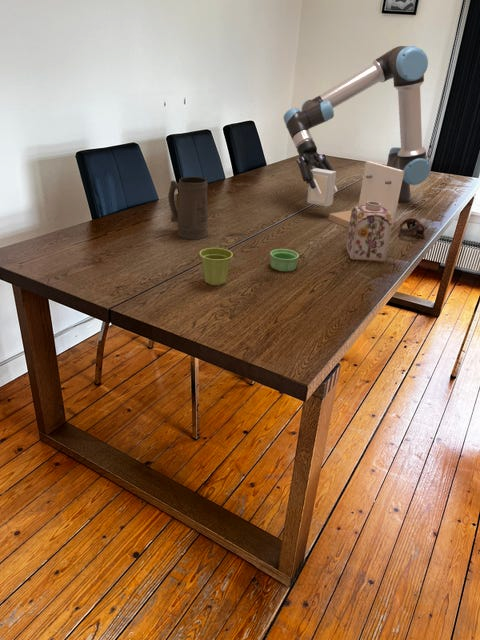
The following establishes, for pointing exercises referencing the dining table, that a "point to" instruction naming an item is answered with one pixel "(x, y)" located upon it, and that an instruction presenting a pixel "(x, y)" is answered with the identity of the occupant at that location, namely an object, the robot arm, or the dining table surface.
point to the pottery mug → (412, 227)
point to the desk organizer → (376, 190)
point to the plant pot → (215, 264)
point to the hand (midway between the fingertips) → (327, 193)
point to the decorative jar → (369, 232)
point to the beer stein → (190, 207)
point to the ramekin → (284, 259)
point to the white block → (322, 187)
